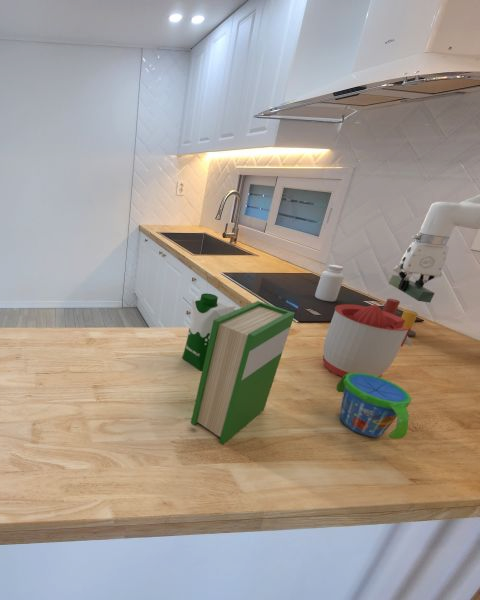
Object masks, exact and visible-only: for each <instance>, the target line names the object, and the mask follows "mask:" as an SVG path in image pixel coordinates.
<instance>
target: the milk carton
mask: <svg viewBox="0 0 480 600" xmlns="http://www.w3.org/2000/svg"><path fill="white" fill-rule="evenodd" d="M235 307H236V305H234V304H232V303H229V302H227V301H225V300H223V299H220V298H219V297H218V296H217V295H216V294H212V293H205V292H204V293H202V294H201V295H200V297H198V298H194V299H191V317H190V322H189V328H188V333H187V338H186V341H185V342H186V343H185V345H184V349H183V352H182V353H183V354H182V360H184V361H186V362H187V363H189V364H190V365H191V366H192V367H194V368H195V369H197V370H198V371H200V372H202V370H203V366H204V361H205V357H206V352H207V348H208V343H209V339H210V334H211V330H212V325H213V321H214V320H215V319H217V318H219V317H222V316H224V315H226V314H229V313H231V312H233V311H235Z"/></svg>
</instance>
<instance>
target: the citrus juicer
mask: <svg viewBox="0 0 480 600" xmlns="http://www.w3.org/2000/svg"><path fill="white" fill-rule="evenodd" d="M404 322H405V320H404V319H403V318H401V316H398V315H396V314H391V313H388V312H385V311H383V309H381V308H380V306H379V305H377V304H372V305H368V306H366V305H365V306H364V305H358V304H346V303H345V304H342V303H341V304H338V305H335V307H334V313H333V316H332V318H331V321H330V324H329V326H328V329H327V331H326V334H325V338H324V341H323V348H322V350H323V351H322V353H323V354H322V360H323V365H324V366H325V368H327V369H328V371H330V372H331V373H332V374H335V375H338V376H340V377H341V378H342V377H343V376H344V375H345V374H348V373H364V374H369V375H373V376H376V377H380V378H381V377H382V376H383V374H385V372H386V371H388V369H389V368H390V367H391V366H392V364H393V363H394V361H395V359H396V357H397V355H398V354H399V351H400V349H401V347H404V345H407V346H410V347H413V341H412V340H410V337H408V336H407V335H408V333H409V331H410V329H411V330H412V328H402V327H403V324H404Z"/></svg>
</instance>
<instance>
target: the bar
mask: <svg viewBox="0 0 480 600" xmlns="http://www.w3.org/2000/svg"><path fill="white" fill-rule="evenodd" d="M401 279H402V278H401V277H400V275H395V274H392V275H391V277H390V279H389V282H388V284H389V285H391V286H392V287H395V288H396V289H397V290H399V287H398V286H399V284H400V282H401ZM408 281H409V284H408V286H407V289H406V291H405V292H403V293H404V294H406V295H407V296H409V297H411V298H412V299H414V300H416V301H417V302H423V303H429V304H430V303H431V302H432V299H433V297H434V296H435V293H436V292H434V291H431V290H430V289H428V288H426V287H424V286H423V287H422V286H420V285H418V284H416V283H415V282H416V281H412V280H411V279H409V280H408Z"/></svg>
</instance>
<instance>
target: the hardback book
mask: <svg viewBox="0 0 480 600" xmlns="http://www.w3.org/2000/svg"><path fill="white" fill-rule="evenodd" d="M295 314H296V312H294V311H290V310H288V309H284V308H281V307H278V306H275V305H272V304H269V303H267V302H262V301H259V300H257V301H255V302H252V303H249V304H247V305H245V306H243V307H239V308H238V309H236V310H234V311H233V312H231V313H229V314H226V315H224V316H222V317H219V318H217V319H215V320H214V321H213V325H212V330H211V334H210V339H209V343H208V348H207V352H206V357H205V361H204V366H203V370H202V371H201V375H200V380H199V384H198V388H197V392H196V398H195V402H194V406H193V410H192V417H191V419H190V424H191V425H193V426H196V425H197V424H199V425H201V426H203V427H204V428H206V429H207V430H209V431H210V432H211V433H213V434H214V435H216V436H217V437H219V440H218V443H219V444H221V445H222V446H224V445H226V443H228V442H229V441H230V440H231V439H232V438H233V437H235V435H237V434H238V433H239V432H240V431H242V429H244V428H245V427H247V425H248V424H249V423H251V422H252V421H253V420H254V419H255V418H256V417H258V416H259V415H260V414H261V413H262V412H263V411H264V410H265V408H266V405H267V402H268V398H269V396H270V392H271V389H272V386H273V383H274V379H275V377H276V374H277V371H278V368H279V364H280V363H281V362H280V361H281V358H282V356H283V352H284V349H285V346H286V342H287V339H288V336H289V333H290V330H291V327H292V325H293V321H294V318H295Z"/></svg>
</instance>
